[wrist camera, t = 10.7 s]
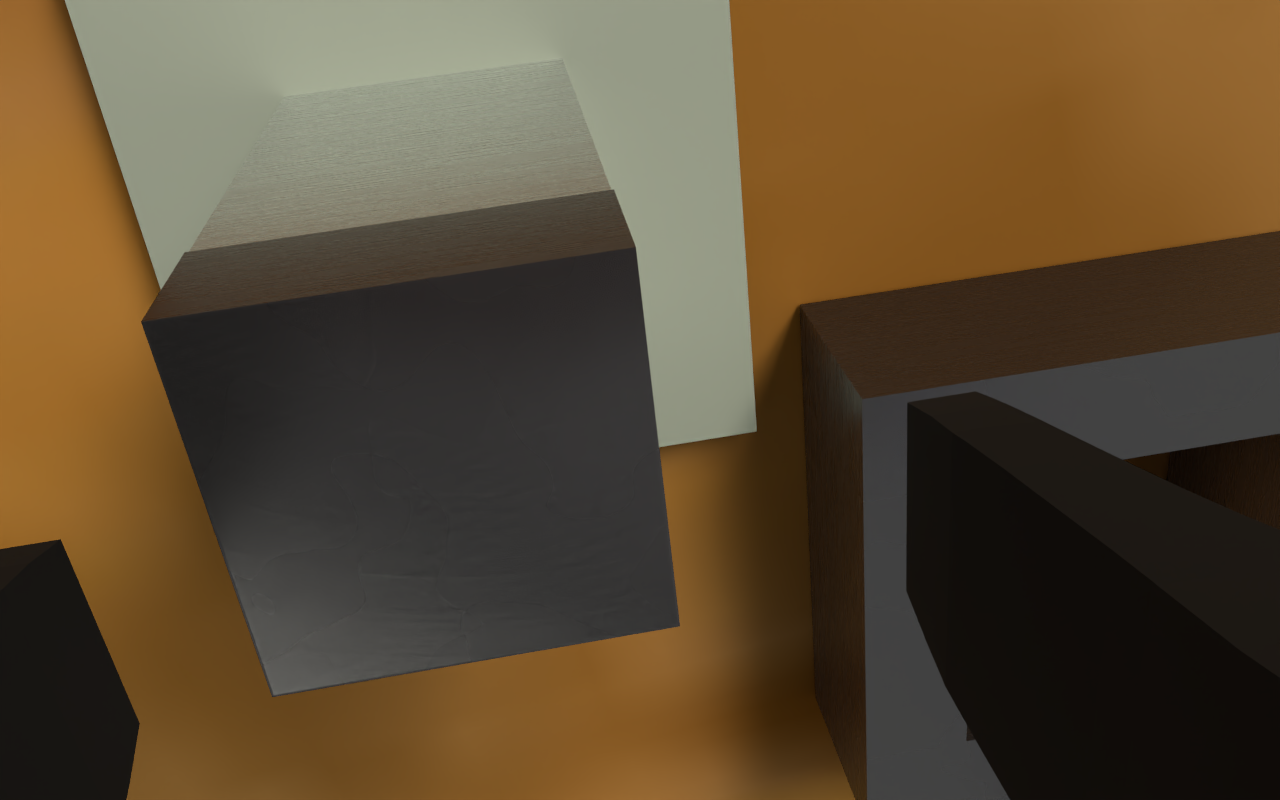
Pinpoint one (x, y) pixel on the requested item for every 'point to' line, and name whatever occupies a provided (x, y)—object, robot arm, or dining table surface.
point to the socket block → (1044, 388)
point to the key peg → (421, 382)
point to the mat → (450, 43)
